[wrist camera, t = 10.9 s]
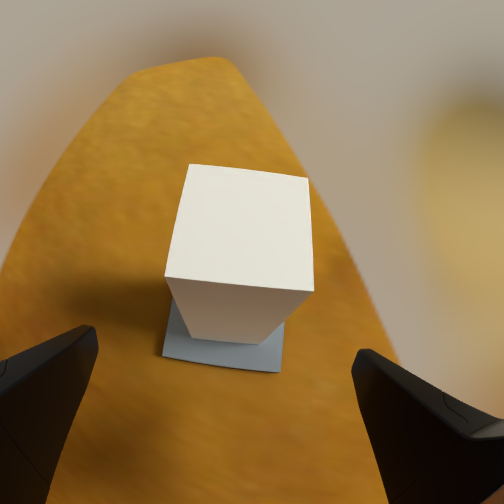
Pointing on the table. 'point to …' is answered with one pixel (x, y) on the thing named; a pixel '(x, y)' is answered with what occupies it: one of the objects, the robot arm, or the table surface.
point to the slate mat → (221, 348)
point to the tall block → (240, 252)
